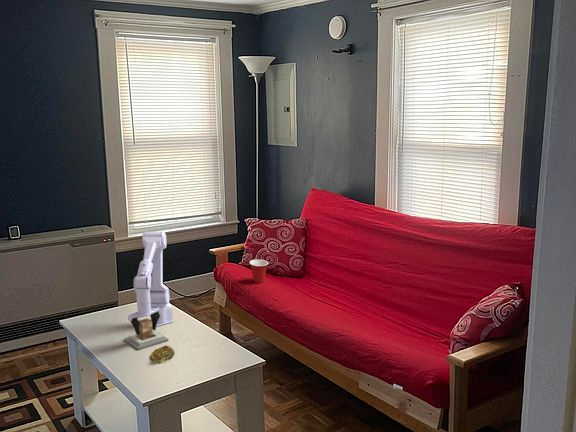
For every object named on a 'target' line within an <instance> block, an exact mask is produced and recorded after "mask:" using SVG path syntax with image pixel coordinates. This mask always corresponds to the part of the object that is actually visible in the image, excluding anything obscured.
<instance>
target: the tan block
mask: <svg viewBox="0 0 576 432" xmlns="http://www.w3.org/2000/svg"><path fill="white" fill-rule="evenodd" d="M138 321H140V323H139V332H140V333H139V338H140V339H141V340H145V339H149V338H152V337H153V329H152V321H151V319H149V318H143V319H138Z"/></svg>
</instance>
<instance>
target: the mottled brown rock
mask: <svg viewBox="0 0 576 432" xmlns="http://www.w3.org/2000/svg"><path fill="white" fill-rule="evenodd" d="M152 351H153V352H152V353H151V355H150V359H151V361H152V362H154V363H155V364H162V363H166V362H169V361H170V360H172V359H173V356H175V352H176V351H175V350H174V348H173V347H171V346H170V345H167V344H166V345H164V346H161V347H158V348H155V350H152Z"/></svg>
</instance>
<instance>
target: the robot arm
mask: <svg viewBox="0 0 576 432" xmlns="http://www.w3.org/2000/svg"><path fill="white" fill-rule="evenodd" d="M141 238H142V239H141V241H142V244H143V247H144V252H143V253H144V254H143V259H142V260H141V261H140V262H139V266H138V270H137V274H136V276H134V278H133V283H132V284H133V288H134V293H135V294H136V306H137V309H136V310H137V311H136V312H134V313H131V314H128V315H127V320H128V321H129V322H130V323H131V324H132V326H133V328H134V332H135V333H136V334H137V335H139V333H140V332H139V323H140V321H139V318H144V317H149V316H150V320H151V321H152V329H153V330H155V331H157V330H156V329H157V327H160V326H164V325H167V324H170V323H174V318H173V306H172V305H171V303H170V289H169V287H168V286H166V285H165V284H164V282H163V279H164V278H163V264H164V263H163V252H164V249H166V248H167V234H166V232H165V231H144V232H143V233H142V237H141Z"/></svg>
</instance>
